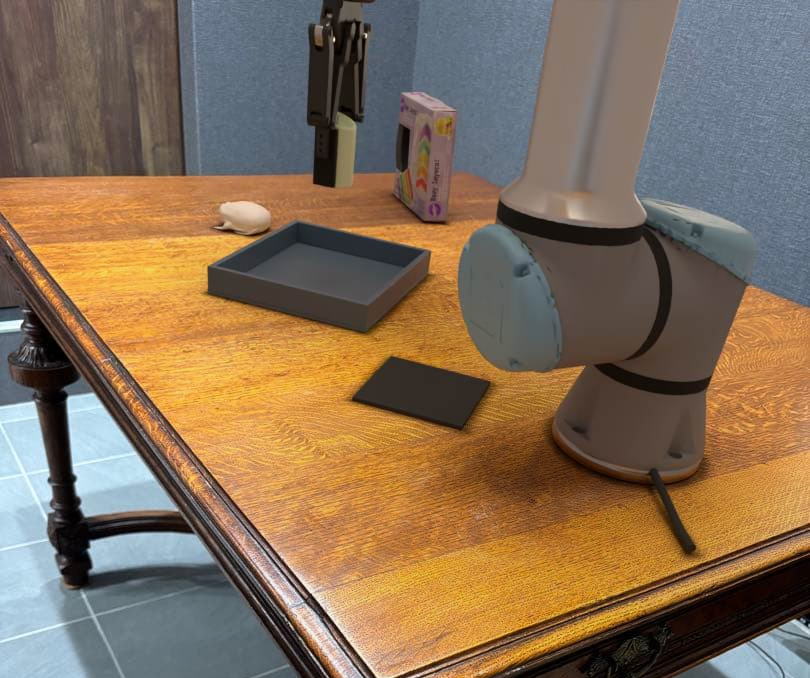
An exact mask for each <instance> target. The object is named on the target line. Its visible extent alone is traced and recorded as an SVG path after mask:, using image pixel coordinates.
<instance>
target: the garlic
mask: <svg viewBox="0 0 810 678" xmlns="http://www.w3.org/2000/svg"><path fill="white" fill-rule="evenodd" d="M217 213H218V217H219V219H220V220H221V221H222V222H223V226H214V227H213V228H214V229H218V230H223V231H224V230H233V231H235V234H238V235H244V236H245V235H246V236H249V235H254V234H258V233H259V234H260V233H263V232H265V231H266V230H267V229H268V228H269V227H270V225H271V222H272V216H271V212H270V211H269V210H268V209H266V207H264V206H261V205H260V204H257V203H254V202H252V201H247V200H239V201H231V202H230V201H226V202H225V203H221V204H220V207H219V210H218V212H217Z"/></svg>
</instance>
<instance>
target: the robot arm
mask: <svg viewBox="0 0 810 678" xmlns="http://www.w3.org/2000/svg"><path fill="white" fill-rule="evenodd" d="M376 1H377V0H322V4H321V5H322V6H321V11H320V16H319V23H312V22H311V23H310V22H309V24H308V26H307V27H308V28H307V34H308V45H309V46H308V47H309V54H308V76H307V77H308V79H307V99H306V100H307V101H306V102H307V103H306V124H307V126H309V127H314V144H313V167H312V169H313V170H312V172H313V173H312V185H316V186H319V187H324V186H325V188H329V187H330V189H335V188H334V187H335V182H336V165H337V147H338V130H339V129H334V128H335V124H336V117H337V111H338V112H340V113H342V114H344V115H346V116H348V117H349V118H350V119H352V120H353V121H354V122H355V124H356V125H357V123H359V124H363V123H364V122H365V115H364V113H365V105H366V92H367V79H368V78H367V77H368V63H369V50H370V49H369V47H370V42H371V36H372V31H373V28H372V27H373V25H372V23H370V22H365V21H364V13H363V4H373V3H375V2H376ZM680 5H681V0H552V5H551V11H550V16H549V22H548V27H547V28H548V29H547V33H546V39H545V45H544V49H543V50H544V51H543V55H542V61H541V67H540V74H539V79H538V85H537V91H536V97H535V103H534V108H533V114H532V118H531V123H530V124H531V125H530V130H529V137H528V143H527V148H526V153H525V159H524V164H523V170H522V171H521V173H520V174H519V175H518V176H517V177H516V178H515V179H514V180H513V181H511V182H510V183H509V184H507V186H505V187H503V189H502V190H500V192H499V197H498V202H497V209H496V213H495V214H496V215H495V221H494V223H488V224H486V225H484V226H483V227H481V228H478V229H476V230H475V231H474V232H472V233H471V234H470V236H469V238H468V241H466V242H465V243H464V245H463V248H462V250H461V253H460V256H459V260H458V261H459V262H458V267H457V295H458V302H459V309H460V312H461V317H462V319H463V323H464V324H465V326H466V329H467V332H468V336H469V338H470V339H471V342H472V344H473V345H474V347H475V349H476V350H477V351H478V352H479V354H480V355H481V356H482V358H483V359H484V360H485V361H486V362H488V363H489V364H490V365H491V366H493V367H495V368H496V369H497V370H500V371H503V372H507V373H528V372H529V373H530V372H534V373H537V374H538V373H539V374H545V373H546V374H547V373H550V372H552V371H555V370H562V369H563V370H564V369H570V368H577V367H583V369H582V370H581V372H580V373H579V375H578V376H577V377H576V379H575V380H574V382H573V384H572V385H571V387H570V388H569V389H568V391H567V393H566V394H565V396H564V397H563V399H562V400H561V402H560V404H559V405H558V407H557V409H556V412H555V415H554V417H553V421H552V426H551V432H552V437H553V440H554V442H555V443H556V445H557V446H558V447H559V448H560V449H561V451H562V452H564V453H565V454H566V456H569V457H570V458H571V459H573V460H574V461H575V462H577V463H579V464H581V465H582V466H584V467H586V468H587V469H590V470H592V471H595V472H597V473H599V474H602V475H604V476H608V477H611V478H613V479H618V480H623V481H627V482H633V483H639V484H652V485H654V488H655V489H656V492H657V494H658V496H659V497H660V500H661V502H662V505H663V507H664V509H665V511H666V514H667V516H668V517H667V518H668V519H669V521H670V523H671V525H672V527H673V529H674V532H675V533H676V535H677V537H678V538H679V540H680V542H681V543H682V545H683V546H684V548H685V550H686V551H687V552H688V553H693V552H695V551H696V549H697V545H696V544H695V542H694V541H693V538H692V537H691V536H690V533H688V531H687V529H686V528H685V525H684V524H683V522H682V520H681V518H680V516H679V514H678V512H677V509H676V507H675V505H674V503H673V500H672V498H671V496H670V494H669V491H668V490H667V487H666V486H665V484H669V483H675V482H681V481H684V480H685V479H687V478H690V477H691V476H693V474H695V473H696V472H697V471H698V469H699V467H700V464H701V462H702V459H703V457H704V454H705V447H706V439H707V438H706V433H707V432H706V431H707V392H708V389H709V386H710V384H711V381H712V378H713V376H714V373H715V370H716V367H717V365H718V362H719V360H720V357H721V355H722V352H723V349H724V347H725V345H726V342H727V340H728V336H729V334H730V332H731V329H732V326H733V323H734V321H735V319H736V317H737V313H738V310H739V308H740V305H741V303H742V301H743V298H744V295H745V292H746V290H747V287H749V286H750V285H751V275H752V271H753V268H754V265H755V261H756V258H757V256H758V250H759V246H758V242H757V240H756V238H755V237H754V235H753V233H752V232H751V231H749V230H748V229H746V228H745V227H743V226H742V225H739V224H737V223H735V222H733V221H730V220H728V219H726V218H722V217H720V216H718V215H715V214H712V213H709V212H706V211H702V210H699V209H697V208H694V207H690V206H687V205H682V204H679V203H675V202H671V201H666V200H662V199H658V198H649V197H640V198H638V197H637V195H636V191H635V183H636V179H637V175H638V171H639V168H640V165H641V164H640V163H641V159H642V155H643V151H644V147H645V143H646V139H647V135H648V131H649V127H650V123H651V120H652V116H653V111H654V107H655V103H656V100H657V96H658V92H659V87H660V83H661V79H662V76H663V72H664V68H665V63H666V60H667V56H668V51H669V48H670V45H671V44H670V43H671V40H672V36H673V31H674V27H675V24H676V20H677V15H678V12H679V8H680Z"/></svg>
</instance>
